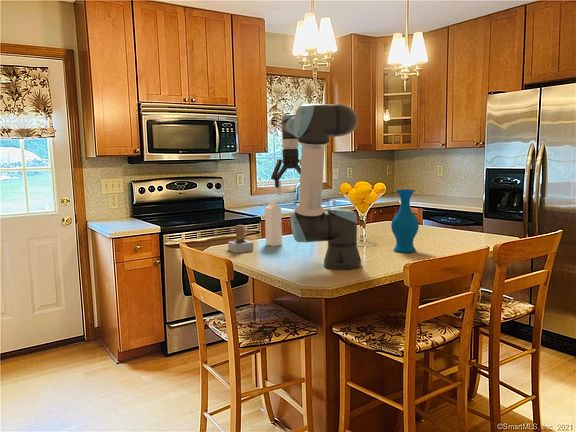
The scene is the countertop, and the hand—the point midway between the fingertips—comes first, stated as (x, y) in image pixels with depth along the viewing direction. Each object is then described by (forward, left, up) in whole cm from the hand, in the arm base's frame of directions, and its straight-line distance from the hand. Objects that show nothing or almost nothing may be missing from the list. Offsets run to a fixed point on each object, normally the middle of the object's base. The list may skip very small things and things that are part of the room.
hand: (291, 193), depth 223 cm
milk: (+15, +2, -27) cm, 31 cm away
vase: (-34, -40, -27) cm, 59 cm away
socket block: (+12, +22, -27) cm, 36 cm away
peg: (+12, +22, -27) cm, 36 cm away
